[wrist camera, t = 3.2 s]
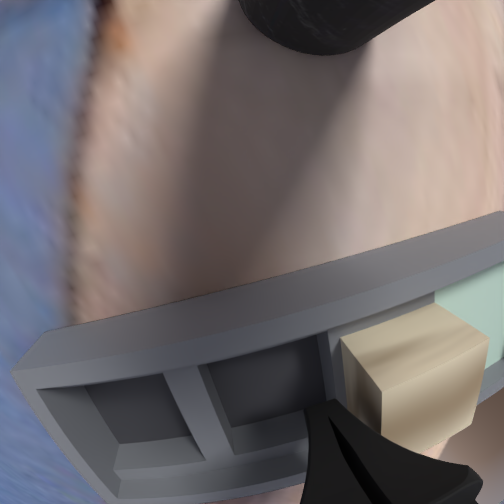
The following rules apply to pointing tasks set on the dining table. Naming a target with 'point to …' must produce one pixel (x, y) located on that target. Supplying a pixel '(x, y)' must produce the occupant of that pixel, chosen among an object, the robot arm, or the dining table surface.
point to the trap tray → (244, 367)
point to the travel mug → (327, 21)
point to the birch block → (415, 376)
